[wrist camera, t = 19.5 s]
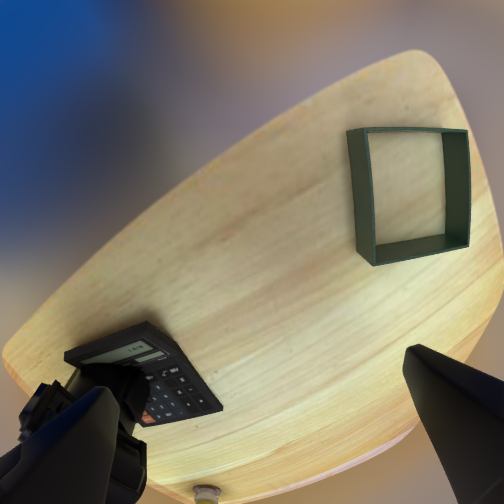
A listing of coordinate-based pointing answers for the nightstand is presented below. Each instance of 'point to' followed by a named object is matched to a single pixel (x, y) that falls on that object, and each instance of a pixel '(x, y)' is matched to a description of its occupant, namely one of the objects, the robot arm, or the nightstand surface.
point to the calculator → (153, 372)
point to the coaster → (217, 490)
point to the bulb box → (455, 198)
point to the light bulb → (206, 496)
